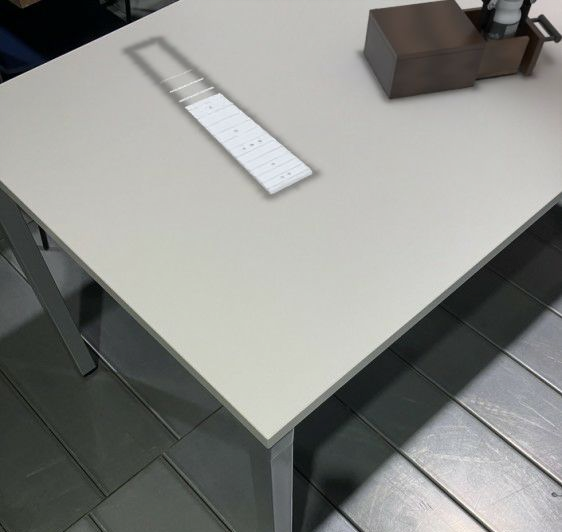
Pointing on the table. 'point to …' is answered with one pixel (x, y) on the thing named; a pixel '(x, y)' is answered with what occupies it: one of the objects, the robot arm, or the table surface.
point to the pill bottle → (504, 20)
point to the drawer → (514, 47)
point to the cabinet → (423, 48)
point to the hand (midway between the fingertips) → (500, 25)
